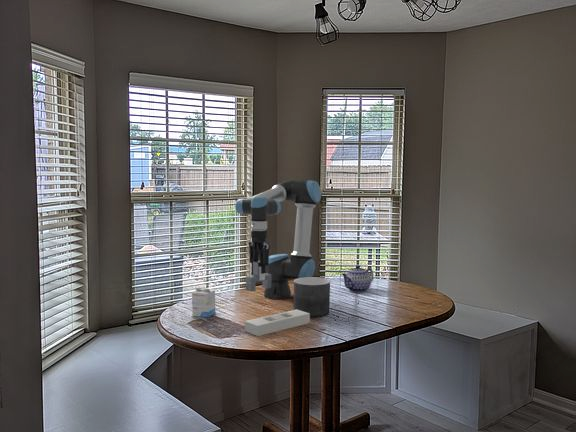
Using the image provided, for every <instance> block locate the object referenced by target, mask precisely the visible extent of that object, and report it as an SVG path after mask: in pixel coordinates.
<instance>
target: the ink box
mask: <svg viewBox="0 0 576 432" xmlns="http://www.w3.org/2000/svg"><path fill="white" fill-rule="evenodd" d="M194 289H195V291H191V307H192V309H191V310H192V311H191V312H192V313H191V314H192V317H201V318H209V317H212V316H213V315H215V314H216V290H215V289H210V288H205V287H204V288H203V287H194Z"/></svg>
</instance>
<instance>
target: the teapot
mask: <svg viewBox="0 0 576 432" xmlns="http://www.w3.org/2000/svg"><path fill="white" fill-rule="evenodd" d="M369 272H370V273H369ZM341 275H342V276H343V282H344V286H345V289H348V290H349V291H350V292H352V293H366V292H367V291H368V290H369V289H370V287H371V284H372V282H373V279H374V271H373V270H372V268H370V267H368V268H363V267H361V266H360V265H359V264H356V265H355V267H352V268H349V271H347V273H345V272H343V273H341Z"/></svg>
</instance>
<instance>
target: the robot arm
mask: <svg viewBox="0 0 576 432" xmlns="http://www.w3.org/2000/svg"><path fill="white" fill-rule="evenodd" d="M321 198H322V189H321V187H320V184H319V183H318V182H317V181H315V180H309V179H308V180H307V179H305V180H302V179H300V180H297V179H291V180H286V181H283V182H280V183H278V184H275V185H273V186H272V188H270V189H268V190H265V191H263V192H260V193H258V194H255V195H253V196H251V197H248V198H238V199H237V200H236V201H235V204H234V206H235V211H236V213H238V214H240V215H250V216H251V217H250V218H251V219H250V221H251V222H250V224H251V225H250V229H251V230H250V238H251V239H252V240H251V241H249V242H248V247H249V248H248V249H249V250H248V253H249V264H251V265H252V266H253V261H260V266H259V280H260V282H262V281H261V280H265V273H268V274H272V275H271V288H268V289H267V288H264V290H263V297H264V298H266V299H271V300H272V299H273V300H284V299H288V298H289V299H290V298H291V297H292V291H291V287H290V284H289V280H293V281H294V280H295V279H298V278H305V277H314V273H315V269H316V264H315V263H316V262H315V260H314V259H312V257H313V256H312V255H311V253H310V250H311V249H310V247H311V237H312V225H313V214H314V209H315V207H316V206H317V203H319V202H320V201H321ZM280 202H281V203H282V202H294V205H295V206H296V208H297V209H296V216H295V229H294V241H293V242H294V243H293V251H292V252H291V253H290V255H289V253H279V254H278V253H277V254H272V255H270V247H271V245H270V244H267V242H266V239H267V238H268V231H267V230H268V216H275V215H278V214H279V213H280V212H281V210H282V205H281V203H280Z"/></svg>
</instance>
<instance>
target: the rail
mask: <svg viewBox="0 0 576 432" xmlns="http://www.w3.org/2000/svg"><path fill="white" fill-rule="evenodd" d="M310 323H311V317H310V313H307V312H304V311H300V310H297V309H296V310H294V309H292V310H288V311H284V312H283V311H282V312H280V313H274V314H270V315H266V316H261V317H258V318H256V317H255V318H253V319H248V320H245V321H244V331H245V332H247V333H249V334H251V335H254V336H256V337H259V336H264V335H268V334H271V333H276V332H279V331H284V330H286V329H287V330H288V329H291V328H292V329H293V328H296V327H300V326H304V325H306V324H310Z"/></svg>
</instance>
